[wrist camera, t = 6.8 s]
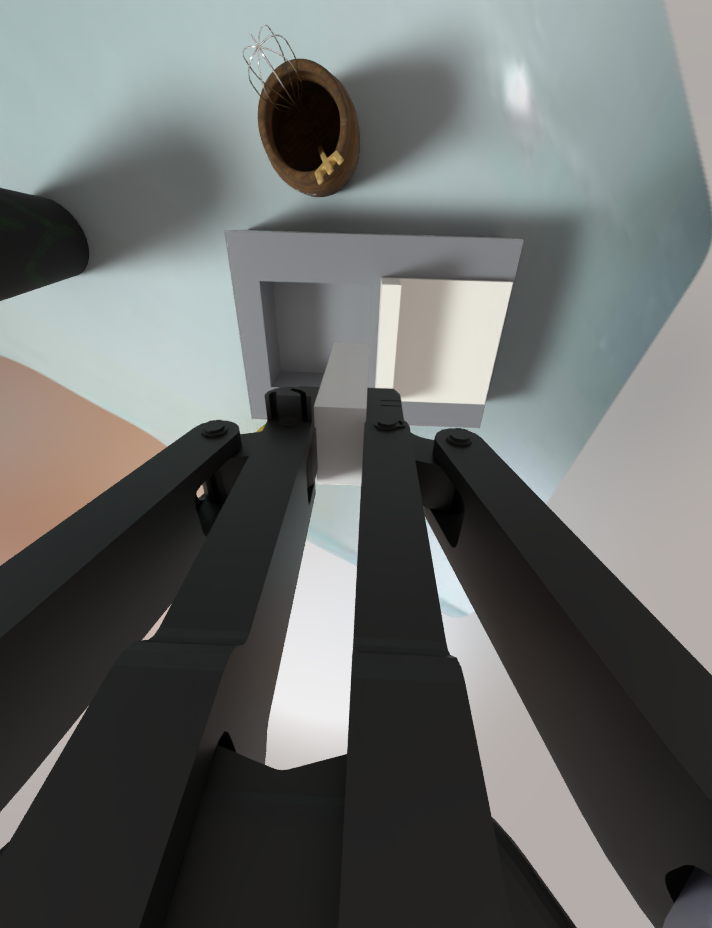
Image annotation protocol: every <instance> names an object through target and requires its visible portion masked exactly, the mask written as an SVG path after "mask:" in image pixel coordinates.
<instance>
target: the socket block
mask: <svg viewBox="0 0 712 928" xmlns="http://www.w3.org/2000/svg"><path fill="white" fill-rule="evenodd" d="M225 238H226V245H227V251H228V258H229V265H230V272H231V279H232V286H233V293H234V299H235V306H236V313H237V320H238V327H239V334H240V340H241V347H242V354H243V361H244V368H245V375H246V382H247V388H248V395H249V402H250V409H251V416H252V419H267V412H266V404H265V396H264V395H265V394H266V393H267V392H268V391H270V390H273V389H275V388H281V387H299V386H310V387H320V386H321V382H322V379H323V376H324V373H325V370H326V367H327V364H328V361H329V357H330V354H331V351H332V348H333V345H334V343H362V344H369V354H368V382H367V388H375V378H376V360H377V342H378V323H379V305H380V287H381V277H389V278H421V279H453V280H485V281H511V282H513V284H514V280H515V276H516V271H517V267H518V263H519V259H520V254H521V250H522V246H523V242H524V239H515V238H504V237H472V236H437V235H402V234H367V233H332V232H297V231H262V230H230V231H225ZM512 288H513V285H512ZM511 293H512V289H511ZM511 293H510V297H511ZM510 297H509V301H510ZM508 306H509V302H508ZM508 306H507V310H508ZM507 310H506V314H507ZM505 318H506V315H505ZM504 323H505V319H504ZM504 323H503V327H504ZM503 327H502V331H503ZM501 335H502V332H501ZM500 340H501V336H500ZM500 340H499V344H500ZM498 348H499V345H498ZM497 352H498V349H497ZM496 357H497V353H496ZM495 361H496V358H495ZM494 365H495V362H494ZM493 370H494V366H493ZM493 370H492V374H493ZM491 378H492V375H491ZM490 382H491V379H490ZM489 387H490V383H489ZM488 391H489V388H488ZM487 395H488V392H487ZM486 399H487V396H486ZM401 403H402V410H403V416H404V421H406V422H407V423H408V425H419V426H444V427H469V428H480V425H481V421H482V417H483V412H484V408H485V405H484V404H459V403H433V402H408V401H401ZM485 404H486V400H485Z"/></svg>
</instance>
